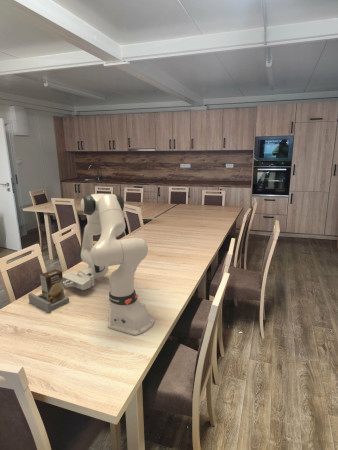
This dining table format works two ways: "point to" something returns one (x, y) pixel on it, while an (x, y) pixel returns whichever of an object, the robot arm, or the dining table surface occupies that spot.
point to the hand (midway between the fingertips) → (63, 285)
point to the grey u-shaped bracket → (45, 305)
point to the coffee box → (52, 286)
